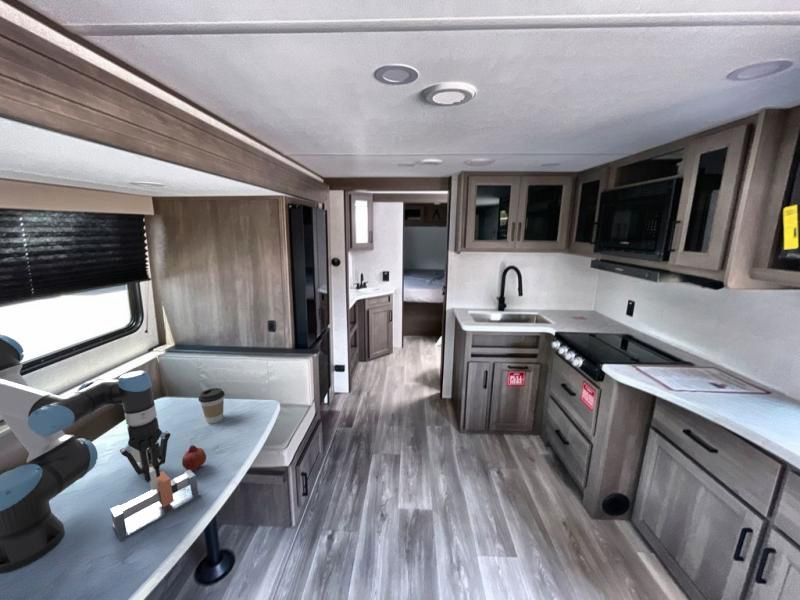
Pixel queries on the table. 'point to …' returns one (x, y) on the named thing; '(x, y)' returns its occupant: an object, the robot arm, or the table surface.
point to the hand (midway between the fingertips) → (154, 487)
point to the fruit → (193, 458)
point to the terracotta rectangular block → (165, 489)
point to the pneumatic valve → (136, 453)
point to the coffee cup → (212, 404)
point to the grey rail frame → (153, 506)
